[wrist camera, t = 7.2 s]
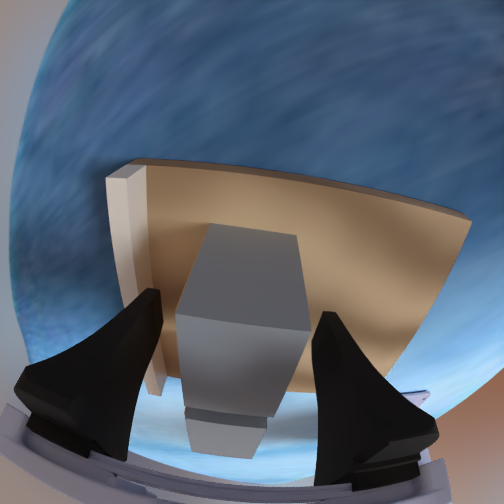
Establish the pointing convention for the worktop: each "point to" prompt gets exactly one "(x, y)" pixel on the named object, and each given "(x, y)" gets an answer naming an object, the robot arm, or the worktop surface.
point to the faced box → (224, 432)
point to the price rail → (133, 250)
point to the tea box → (242, 321)
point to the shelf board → (309, 248)
